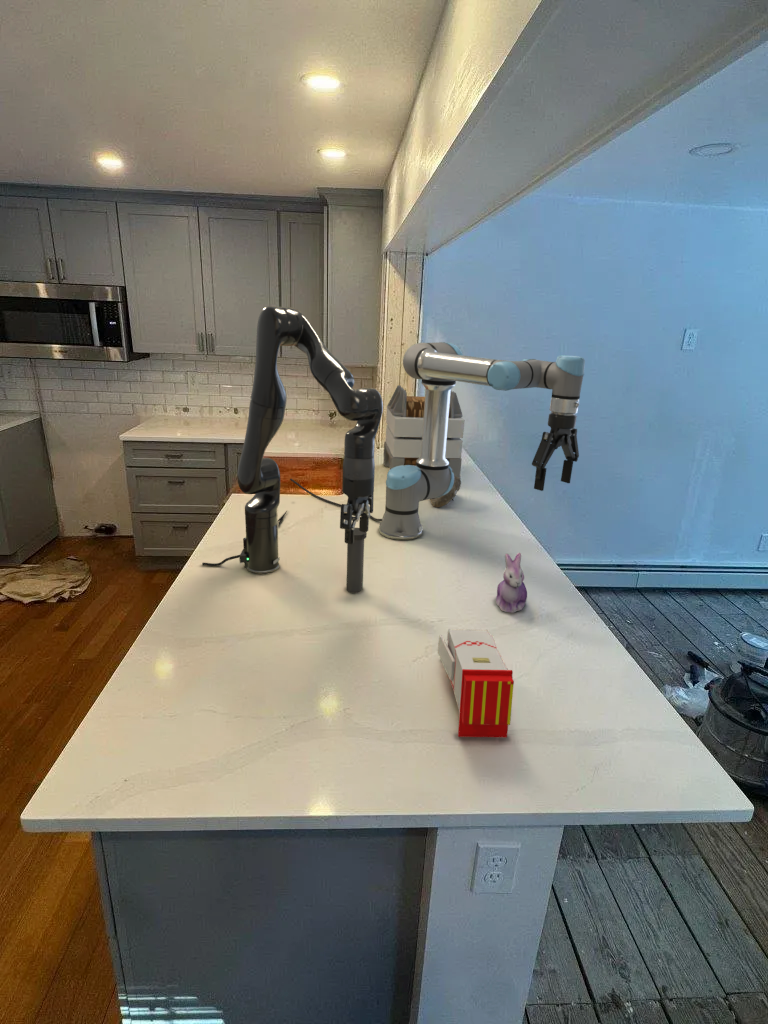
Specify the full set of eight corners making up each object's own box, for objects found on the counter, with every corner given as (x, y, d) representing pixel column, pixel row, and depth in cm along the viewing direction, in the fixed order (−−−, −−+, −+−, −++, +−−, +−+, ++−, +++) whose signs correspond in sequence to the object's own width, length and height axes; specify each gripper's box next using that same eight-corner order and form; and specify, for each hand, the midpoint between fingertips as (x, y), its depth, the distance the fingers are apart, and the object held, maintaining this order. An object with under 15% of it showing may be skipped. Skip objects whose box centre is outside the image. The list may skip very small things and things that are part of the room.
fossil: (425, 482, 246) (454, 463, 241) (438, 498, 249) (467, 480, 244) (424, 503, 227) (455, 483, 222) (438, 521, 229) (469, 501, 224)
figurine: (509, 617, 148) (516, 565, 143) (485, 599, 156) (491, 550, 151) (537, 610, 152) (544, 559, 147) (512, 593, 161) (519, 544, 156)
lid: (343, 533, 156) (343, 528, 155) (364, 532, 157) (364, 527, 157) (347, 541, 151) (347, 535, 150) (368, 540, 152) (368, 534, 151)
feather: (294, 505, 227) (296, 501, 226) (277, 528, 200) (280, 524, 199) (290, 503, 226) (292, 499, 226) (273, 526, 200) (276, 521, 199)
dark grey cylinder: (345, 586, 161) (346, 530, 155) (360, 585, 162) (362, 529, 156) (347, 593, 157) (349, 536, 151) (364, 592, 158) (366, 535, 152)
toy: (488, 613, 130) (523, 677, 101) (484, 667, 133) (517, 744, 104) (435, 612, 130) (455, 676, 101) (432, 666, 133) (451, 743, 103)
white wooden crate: (382, 463, 289) (386, 382, 275) (445, 464, 293) (451, 384, 279) (390, 482, 257) (394, 392, 243) (460, 483, 261) (468, 394, 247)
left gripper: (356, 465, 142) (354, 525, 147) (330, 479, 129) (329, 544, 135) (384, 469, 139) (381, 530, 145) (360, 484, 127) (358, 550, 132)
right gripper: (548, 419, 148) (537, 496, 155) (598, 411, 163) (586, 482, 171) (525, 414, 153) (515, 489, 160) (575, 407, 169) (564, 476, 176)
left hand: (356, 537), depth 140 cm, fingers open, 8 cm apart
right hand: (552, 485), depth 166 cm, fingers open, 13 cm apart
